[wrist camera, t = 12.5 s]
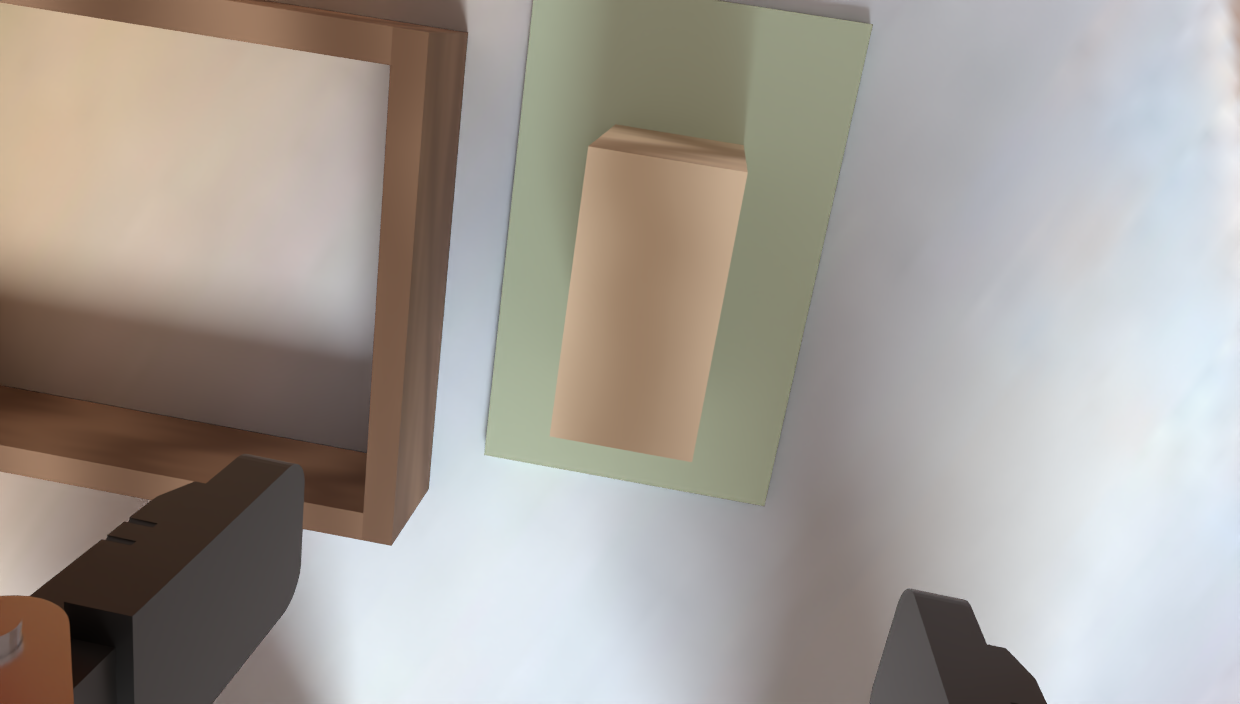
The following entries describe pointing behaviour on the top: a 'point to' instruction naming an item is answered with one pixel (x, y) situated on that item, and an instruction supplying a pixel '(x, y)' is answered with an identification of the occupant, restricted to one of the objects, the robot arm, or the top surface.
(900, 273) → the top surface
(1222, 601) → the top surface
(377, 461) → the slot box
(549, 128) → the mat
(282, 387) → the top surface
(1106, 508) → the top surface
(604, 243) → the maple block
